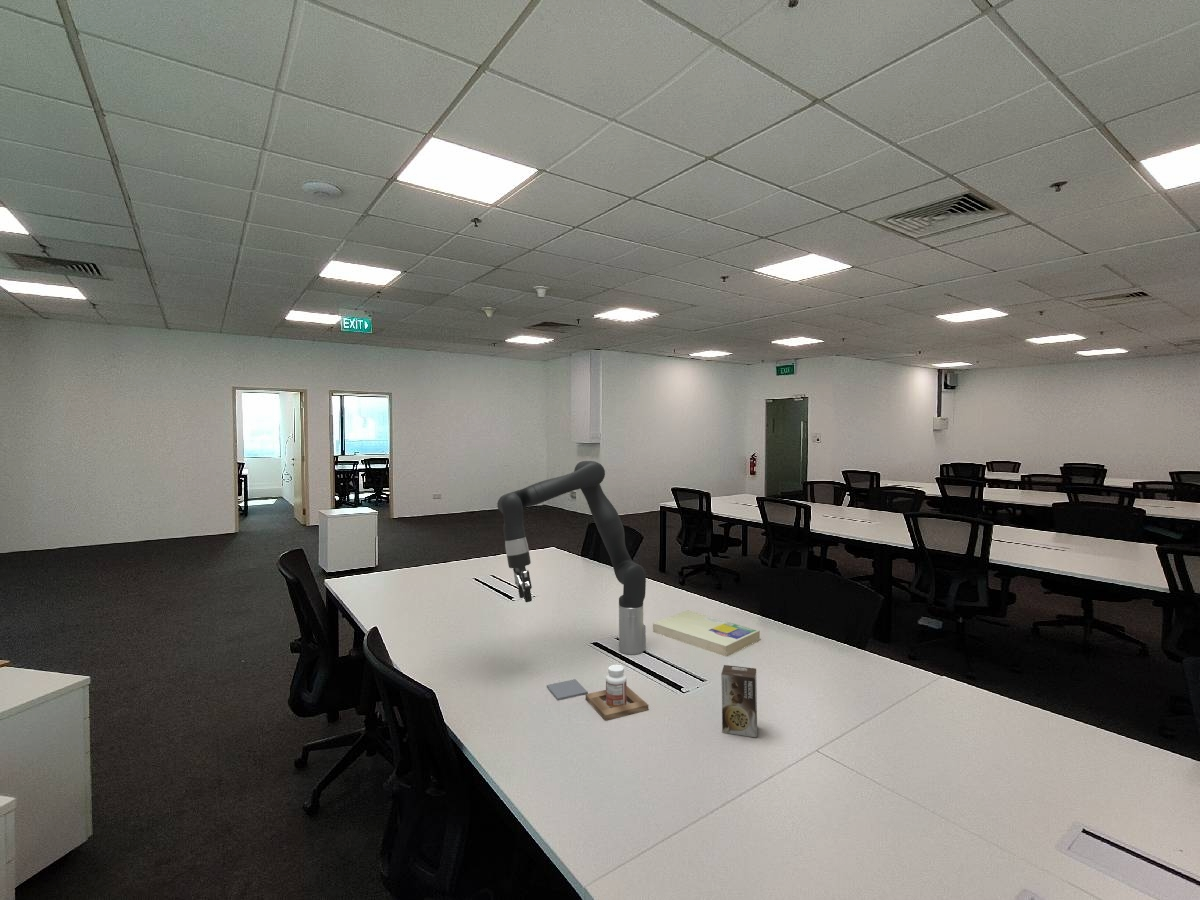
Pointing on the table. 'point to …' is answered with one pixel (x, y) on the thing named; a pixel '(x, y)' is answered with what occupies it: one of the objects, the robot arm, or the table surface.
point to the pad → (566, 689)
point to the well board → (611, 713)
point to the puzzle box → (707, 632)
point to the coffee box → (739, 700)
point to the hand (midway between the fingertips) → (525, 599)
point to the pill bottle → (616, 686)
